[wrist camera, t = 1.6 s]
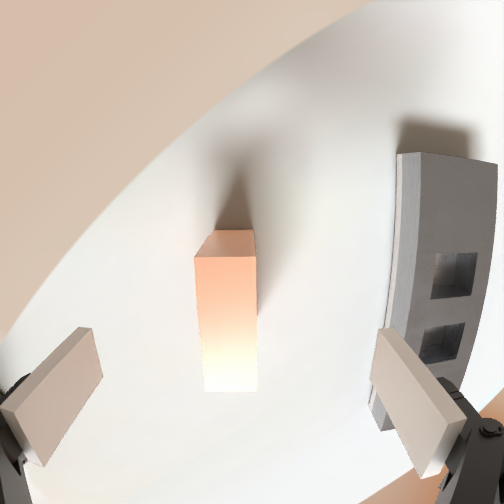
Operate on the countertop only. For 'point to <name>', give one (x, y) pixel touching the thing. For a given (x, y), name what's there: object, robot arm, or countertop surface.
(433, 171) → the rail
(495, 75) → the countertop surface
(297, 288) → the countertop surface
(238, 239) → the tall peach block
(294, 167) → the countertop surface
